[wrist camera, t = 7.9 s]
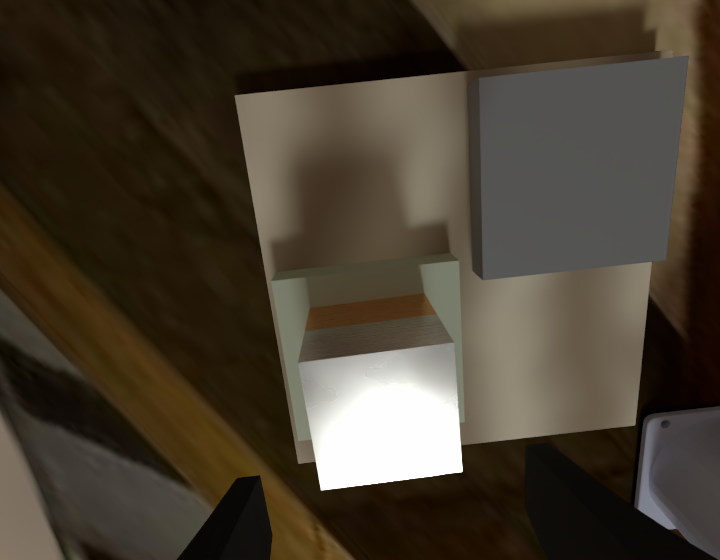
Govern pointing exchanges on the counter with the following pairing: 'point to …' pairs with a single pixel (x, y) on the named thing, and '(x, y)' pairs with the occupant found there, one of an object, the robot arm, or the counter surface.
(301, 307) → the stand
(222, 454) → the counter surface
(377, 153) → the board
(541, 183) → the stand
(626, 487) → the counter surface
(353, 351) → the block
